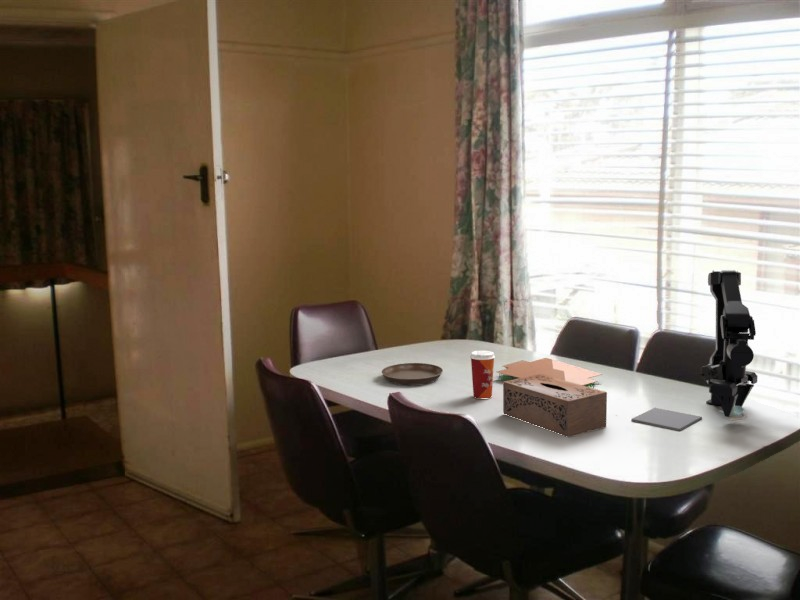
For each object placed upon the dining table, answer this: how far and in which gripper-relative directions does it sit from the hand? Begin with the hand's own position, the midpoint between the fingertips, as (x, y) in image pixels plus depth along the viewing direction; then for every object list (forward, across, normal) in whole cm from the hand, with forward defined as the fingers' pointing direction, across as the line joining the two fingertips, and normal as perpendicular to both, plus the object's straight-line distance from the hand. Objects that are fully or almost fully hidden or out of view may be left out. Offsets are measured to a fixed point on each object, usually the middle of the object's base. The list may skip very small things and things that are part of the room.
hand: (732, 413), depth 231 cm
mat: (+3, +8, -15) cm, 17 cm away
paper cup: (+3, +21, -69) cm, 72 cm away
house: (+4, -7, -63) cm, 63 cm away
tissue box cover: (+3, +28, -39) cm, 48 cm away
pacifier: (+1, 0, 0) cm, 1 cm away
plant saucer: (+3, +18, -101) cm, 103 cm away
